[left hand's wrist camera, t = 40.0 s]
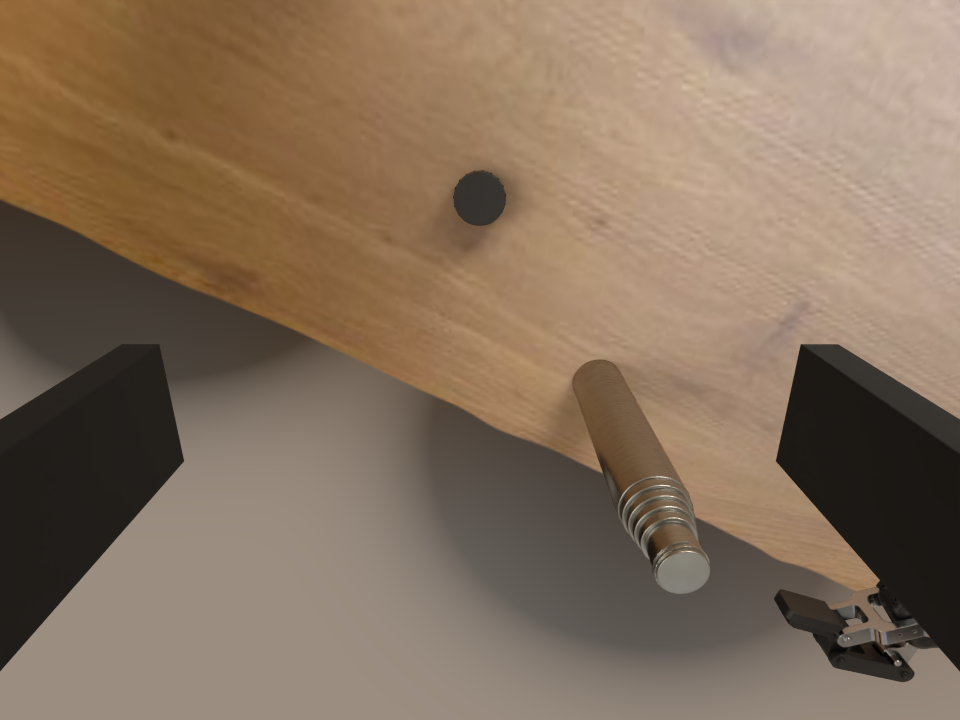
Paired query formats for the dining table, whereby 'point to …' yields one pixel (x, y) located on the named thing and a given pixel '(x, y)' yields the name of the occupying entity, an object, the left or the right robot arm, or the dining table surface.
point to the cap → (479, 198)
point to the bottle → (641, 479)
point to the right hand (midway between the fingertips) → (815, 554)
